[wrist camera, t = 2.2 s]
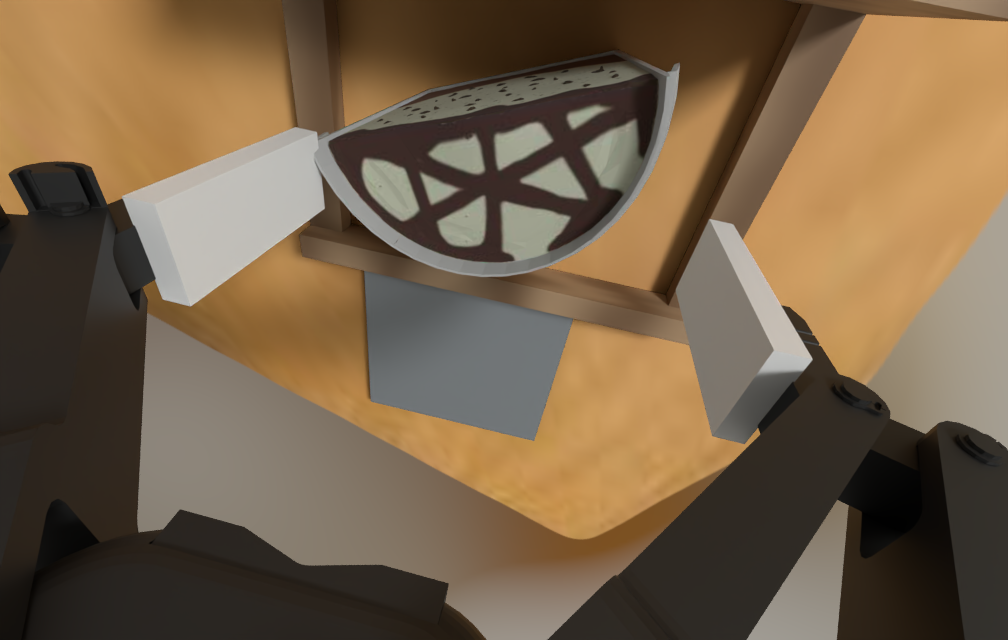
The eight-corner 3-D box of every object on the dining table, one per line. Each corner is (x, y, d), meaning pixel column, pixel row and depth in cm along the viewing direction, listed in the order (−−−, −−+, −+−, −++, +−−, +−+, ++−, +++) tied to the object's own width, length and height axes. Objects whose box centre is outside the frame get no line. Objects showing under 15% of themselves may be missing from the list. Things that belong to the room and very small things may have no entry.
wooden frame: (323, 238, 28) (230, 319, 21) (279, -147, 18) (63, -248, 10) (688, 321, 27) (720, 435, 20) (876, -34, 17) (1089, -61, 9)
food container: (435, 208, 26) (362, 301, 18) (401, 94, 22) (292, 147, 14) (653, 179, 23) (683, 276, 15) (653, 41, 19) (691, 71, 11)
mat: (373, 396, 37) (370, 401, 36) (367, 251, 28) (363, 256, 28) (534, 435, 36) (533, 440, 36) (578, 299, 28) (577, 304, 27)
